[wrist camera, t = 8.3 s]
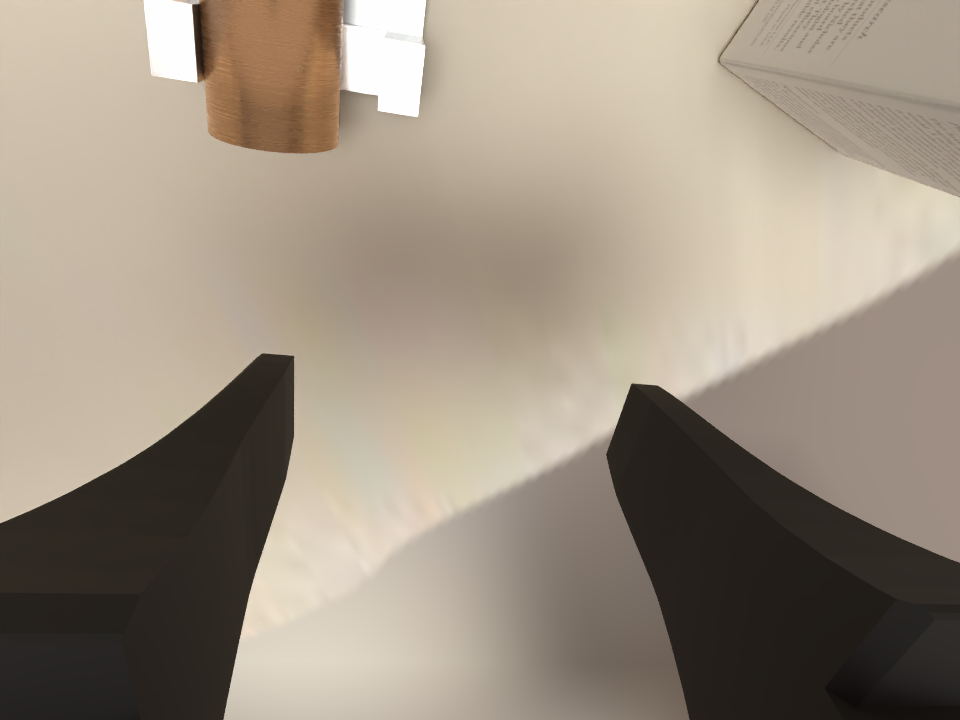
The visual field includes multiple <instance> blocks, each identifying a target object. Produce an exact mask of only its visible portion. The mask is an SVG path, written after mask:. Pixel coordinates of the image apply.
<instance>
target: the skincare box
mask: <svg viewBox="0 0 960 720" xmlns="http://www.w3.org/2000/svg"><path fill="white" fill-rule="evenodd" d="M720 63H721V64H722V65H723V66H724V67H726V68H727V69H728V70H730V71H731V72H732V73H734V74H735V75H736V76H738V77H739V78H740V79H742V80H743V81H744V82H746V83H747V84H748V85H750V86H751V87H752V88H754V89H755V90H756V91H758V92H759V93H760V94H762V95H763V96H764V97H766V98H767V99H769V100H770V101H771V102H773V103H774V104H775V105H776V106H778V107H779V108H780V109H782V110H783V111H784V112H786V113H787V114H788V115H790V116H791V117H792V118H794V119H795V120H796V121H798V122H799V123H800V124H802V125H803V126H804V127H806V128H807V129H809V130H810V131H811V132H813V133H814V134H815V135H817V136H818V137H819V138H821V139H822V140H823V141H825V142H826V143H828V144H829V145H830V146H832V147H833V148H834V149H836V150H837V151H838V152H839V153H841V154H842V155H845V156H847V157H850V158H853V159H856V160H859V161H862V162H864V163H867V164H870V165H872V166H875V167H878V168H880V169H883V170H885V171H888V172H891V173H894V174H896V175H899V176H902V177H905V178H908V179H910V180H913V181H916V182H918V183H921V184H924V185H927V186H930V187H933V188H936V189H938V190H941V191H944V192H947V193H949V194H952V195H955V196H957V197H960V0H759V1H758V3H757V4H756V6H755V7H754V9H753V10H752V12H751V13H750V15H749V16H748V18H747V19H746V20H745V22H744V23H743V25H742V26H741V28H740V29H739V31H738V32H737V34H736V35H735V36H734V38H733V39H732V41H731V42H730V44H729V45H728V47H727V48H726V49H725V51H724V52H723V54H722V55H721V57H720Z"/></svg>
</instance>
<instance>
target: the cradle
mask: <svg viewBox="0 0 960 720" xmlns="http://www.w3.org/2000/svg"><path fill="white" fill-rule="evenodd" d="M143 1H144V10H145V19H146V28H147V37H148V46H149V55H150V64H151V74H152V76H158V77H164V78H171V79H177V80H184V81H190V82H196V83H198V82H200V81H202V80H204V79H205V76H204V62H203V47H202V33H201V18H200V4H199V0H143ZM425 5H426V0H344V4H343V29H342V55H341V81H340V90H345V91H351V92H357V93H363V94H370V95H376V96H379V98H378V111H383V112H389V113H396V114H402V115H409V116H415V117H418V111H419V101H420V92H421V82H422V72H423V63H424V53H425V44H424V41H423V38H422V35H423V25H424V15H425Z"/></svg>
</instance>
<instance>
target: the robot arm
mask: <svg viewBox="0 0 960 720" xmlns="http://www.w3.org/2000/svg"><path fill="white" fill-rule="evenodd" d="M293 438H294V356H287V355H275V354H263V353H262V354H261V355H260V356H258V357H257V358H256V359H255V360H254V361H253V362H252V363H251V364H250V365H249V366H248V367H246V368H245V369H244V370H243V371H242V372H241V373H240V374H239V375H238V376H237V377H236V378H235V379H234V380H233V381H232V382H231V383H229V384H228V385H227V386H226V387H225V388H224V389H223V390H222V391H221V392H219V393H218V394H217V395H216V396H215V397H214V398H213V399H211V400H210V401H209V402H208V403H207V404H206V405H204V406H203V407H202V408H201V409H200V410H199V411H197V412H196V413H195V414H194V415H192V416H191V417H190V418H188V419H187V420H186V421H184V422H183V423H182V424H181V425H179V426H178V427H177V428H175V429H174V430H173V431H171V432H170V433H169V434H168V435H166V436H165V437H163V438H162V439H161V440H159V441H158V442H156V443H155V444H153V445H152V446H150V447H149V448H147V449H146V450H144V451H143V452H141V453H139V454H138V455H136V456H135V457H133V458H131V459H130V460H128V461H127V462H125V463H123V464H121V465H120V466H118V467H116V468H114V469H113V470H111V471H109V472H107V473H105V474H103V475H101V476H99V477H98V478H96V479H94V480H92V481H90V482H88V483H86V484H84V485H83V486H81V487H79V488H77V489H75V490H73V491H71V492H69V493H67V494H65V495H63V496H61V497H59V498H57V499H55V500H53V501H51V502H48V503H46V504H44V505H42V506H40V507H38V508H35V509H33V510H31V511H29V512H26V513H24V514H22V515H19V516H17V517H15V518H12V519H10V520H8V521H5V522H3V523H1V524H0V720H223V719H224V713H225V708H226V703H227V697H228V693H229V688H230V683H231V678H232V673H233V668H234V663H235V658H236V654H237V649H238V644H239V639H240V635H241V630H242V625H243V621H244V616H245V612H246V607H247V602H248V598H249V594H250V590H251V586H252V583H253V579H254V576H255V572H256V569H257V566H258V563H259V560H260V557H261V554H262V551H263V548H264V545H265V542H266V539H267V536H268V533H269V530H270V527H271V523H272V520H273V517H274V514H275V511H276V508H277V505H278V502H279V499H280V496H281V493H282V489H283V486H284V483H285V480H286V475H287V470H288V465H289V460H290V455H291V449H292V444H293ZM606 455H607V460H608V464H609V469H610V473H611V477H612V481H613V485H614V489H615V492H616V496H617V498H618V500H619V503H620V506H621V508H622V511H623V513H624V516H625V518H626V521H627V523H628V525H629V528H630V531H631V533H632V536H633V538H634V540H635V543H636V545H637V547H638V550H639V552H640V555H641V557H642V560H643V562H644V564H645V567H646V569H647V572H648V574H649V576H650V579H651V581H652V584H653V587H654V590H655V593H656V595H657V598H658V601H659V604H660V607H661V611H662V614H663V618H664V621H665V625H666V628H667V632H668V635H669V638H670V642H671V645H672V649H673V653H674V657H675V661H676V665H677V669H678V673H679V676H680V680H681V684H682V688H683V692H684V696H685V701H686V705H687V710H688V714H689V719H690V720H960V563H959V562H956V561H953V560H950V559H948V558H945V557H943V556H940V555H938V554H936V553H933V552H931V551H929V550H926V549H924V548H922V547H919V546H917V545H915V544H912V543H910V542H908V541H905V540H903V539H901V538H898V537H896V536H894V535H892V534H890V533H888V532H886V531H883V530H881V529H879V528H877V527H875V526H873V525H871V524H869V523H867V522H865V521H863V520H861V519H859V518H857V517H855V516H853V515H851V514H849V513H847V512H845V511H843V510H841V509H839V508H838V507H836V506H834V505H832V504H830V503H828V502H827V501H825V500H823V499H821V498H819V497H818V496H816V495H815V494H813V493H811V492H809V491H808V490H806V489H804V488H803V487H801V486H799V485H798V484H796V483H794V482H792V481H791V480H789V479H788V478H786V477H785V476H783V475H781V474H780V473H778V472H777V471H775V470H774V469H772V468H771V467H769V466H768V465H766V464H765V463H764V462H762V461H761V460H759V459H758V458H756V457H755V456H753V455H752V454H750V453H749V452H747V451H746V450H745V449H743V448H742V447H741V446H739V445H738V444H737V443H735V442H734V441H732V440H731V439H730V438H728V437H727V436H726V435H724V434H723V433H722V432H720V431H719V430H718V429H716V428H715V427H714V426H712V425H711V424H710V423H708V422H707V421H706V420H705V419H703V418H702V417H701V416H699V415H698V414H697V413H695V412H694V411H693V410H691V409H690V408H689V407H688V406H686V405H685V404H684V403H682V402H681V401H679V400H678V399H677V398H675V397H674V396H673V395H671V394H670V393H668V392H667V391H665V390H664V389H662V388H660V387H659V386H656V385H643V384H631V387H630V390H629V392H628V395H627V398H626V401H625V404H624V406H623V409H622V412H621V415H620V418H619V420H618V423H617V426H616V429H615V432H614V434H613V437H612V440H611V443H610V446H609V448H608V451H607V454H606Z"/></svg>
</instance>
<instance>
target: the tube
mask: <svg viewBox="0 0 960 720" xmlns="http://www.w3.org/2000/svg"><path fill="white" fill-rule="evenodd" d="M199 4H200V18H201V33H202V47H203V62H204V76H205V91H206V105H207V120H208V132H209V134H210V135H212V136H213V137H215V138H216V139H219V140H221V141H224V142H226V143H230V144H233V145H237V146H241V147H246V148H251V149H256V150H263V151H271V152H282V153H316V152H324V151H329V150H332V149H334V148H336V147H337V146H338V132H339V106H340V81H341V55H342V29H343V4H344V0H199Z"/></svg>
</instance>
